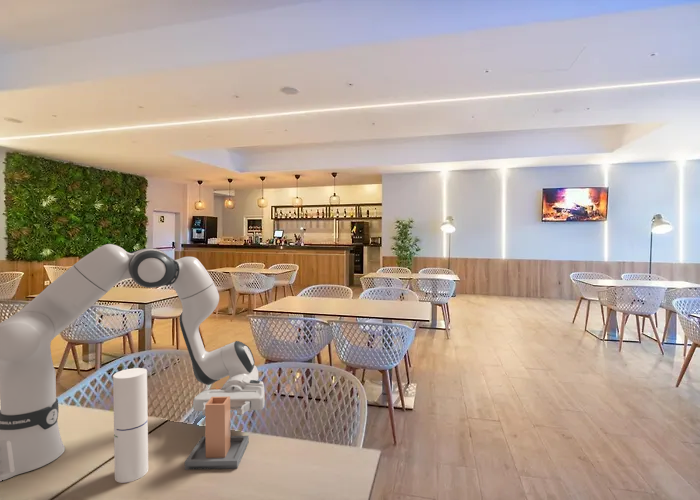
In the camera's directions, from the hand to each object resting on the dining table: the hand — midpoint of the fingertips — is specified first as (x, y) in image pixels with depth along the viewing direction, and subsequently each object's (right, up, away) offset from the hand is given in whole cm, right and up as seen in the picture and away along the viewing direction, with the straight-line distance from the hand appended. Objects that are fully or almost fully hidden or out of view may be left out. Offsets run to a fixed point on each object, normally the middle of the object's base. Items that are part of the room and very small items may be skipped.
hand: (222, 412), depth 102 cm
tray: (0, -10, -3) cm, 11 cm away
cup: (0, -9, -3) cm, 10 cm away
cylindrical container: (-19, -11, -10) cm, 24 cm away
